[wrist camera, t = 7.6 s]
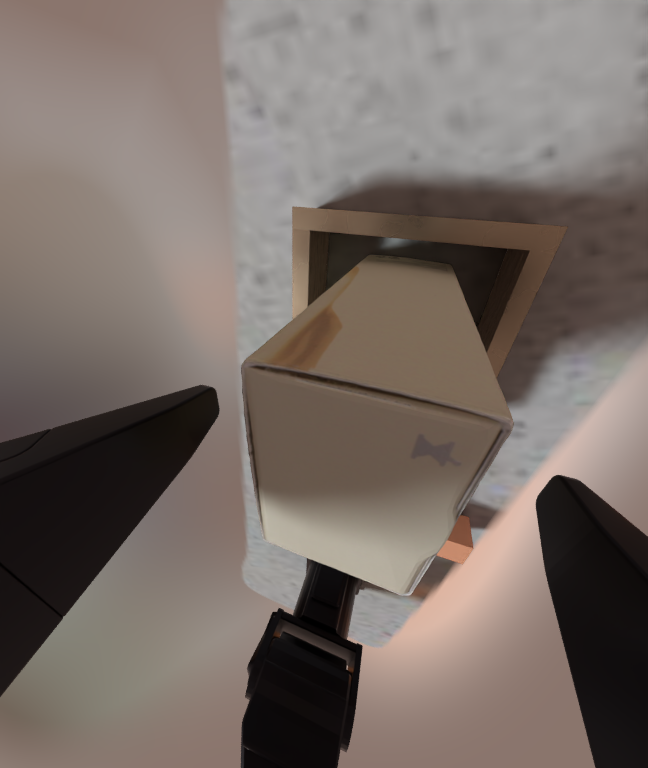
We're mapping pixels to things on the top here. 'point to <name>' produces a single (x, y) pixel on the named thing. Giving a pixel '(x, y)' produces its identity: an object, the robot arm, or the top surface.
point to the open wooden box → (518, 270)
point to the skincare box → (373, 421)
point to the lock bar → (458, 542)
